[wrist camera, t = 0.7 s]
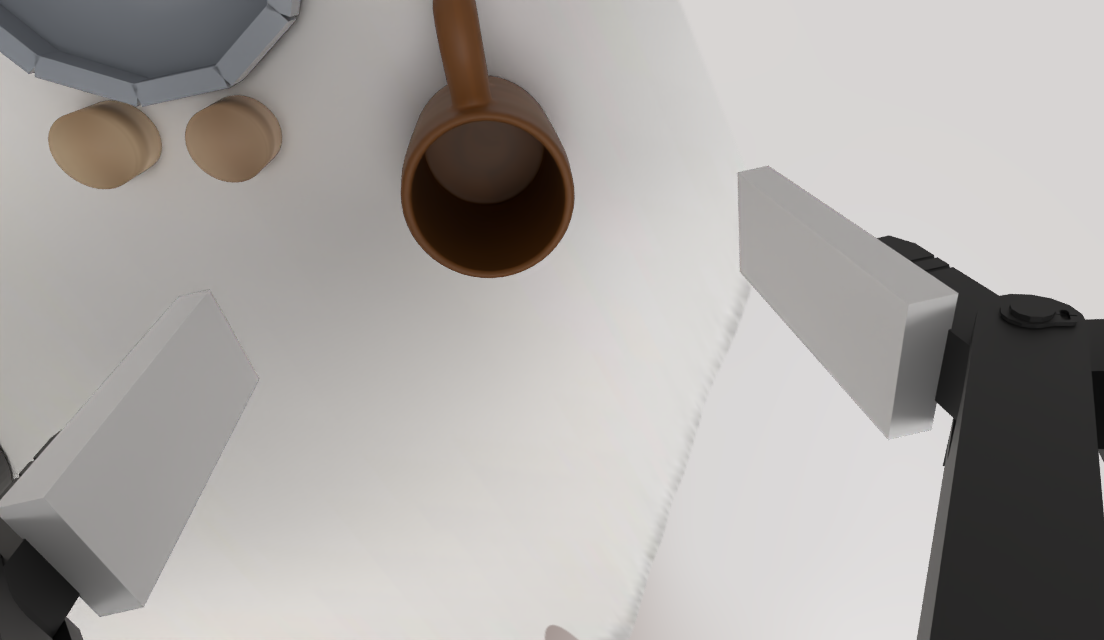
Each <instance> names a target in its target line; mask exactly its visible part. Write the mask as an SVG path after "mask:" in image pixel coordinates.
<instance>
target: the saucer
mask: <svg viewBox="0 0 1104 640" xmlns="http://www.w3.org/2000/svg"><path fill="white" fill-rule="evenodd" d="M300 1H301V0H0V52H1V53H2V54H4V55H5V56H6V57H8V58H9V59H10V60H11V61H13V62H14V63H15V64H17V65H18V66H19V67H21V68H22V69H23V70H25V71H26V72H27V73H28V74H31V73H35V77H37V78H40V79H43V80H47V81H50V82H54V83H57V84H61V85H64V86H68V87H71V88H75V89H78V90H82V91H85V92H89V93H92V94H95V95H99V96H102V97H106V98H109V99H113V100H116V101H120V102H123V103H127V104H130V105H134V106H139V105H142V107H144V106H148V105H153V104H157V103H162V102H166V101H171V100H175V99H180V98H185V97H189V96H194V95H198V94H203V93H207V92H212V91H216V90H221V89H226V88H229V87H231V86H233V85H235V84H237V83H239V82H240V81H242V80H243V79H244V78H245V77H246V76H247V75H248V74H249V73H250V71H251V70H252V69H253V68H254V67H255V66H256V65H257V64H258V62H259V61H260V60H261V59H262V58H263V57H264V56H265V54H266V53H267V52H268V51H269V50H270V49H271V48H272V47H273V45H274V44H275V43H276V42H277V41H278V40H279V39H280V37H281V36H282V35H283V34H284V33H285V32H286V31H287V29H288V28H289V27H290V26H291V25H292V24H293V23H294V22H295V20H296V18H295V17H294V16H295V15H299V9H300Z"/></svg>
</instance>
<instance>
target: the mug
mask: <svg viewBox="0 0 1104 640" xmlns="http://www.w3.org/2000/svg"><path fill="white" fill-rule="evenodd" d="M433 14H434V21H435V27H436V33H437V38H438V43H439V48H440V53H441V58H442V62H443V67H444V71H445V75H446V80H447V84H448V85H446V86H445V87H443V88H442V89H441V90H439V91H438V92H437V93H436V94H435V95H434V96H433V97H432V98H431V99H430V100H429V102H428V103H427V104H426V106H425V107H424V109H423V111H422V113H421V114H420V116H419V119H418V121H417V124H416V127H415V129H414V132H413V135H412V137H411V140H410V143H409V146H408V149H407V152H406V155H405V159H404V164H403V168H402V179H401V204H402V209H403V214H404V217H405V220H406V223H407V225H408V227H409V229H410V231H411V233H412V235H413V237H414V238H415V240H416V241H417V243H418V244H419V245H420V246H421V247H422V249H423V250H424V251H425V252H426V253H427V254H428V255H430V256H431V257H432V258H433V259H434V260H436V261H437V262H439V263H440V264H441V265H443V266H445V267H447V268H449V269H451V270H453V271H456V272H458V273H461V274H464V275H468V276H473V277H480V278H497V277H505V276H509V275H514V274H516V273H519V272H522V271H524V270H526V269H528V268H530V267H532V266H534V265H536V264H537V263H539V262H540V261H542V260H543V259H544V258H545V257H546V256H547V255H549V254H550V253H551V252H552V251H553V249H554V248H555V247H556V246H557V245H558V243H559V242H560V241H561V239H562V238H563V236H564V234H565V232H566V230H567V228H568V226H569V223H570V220H571V217H572V213H573V208H574V184H573V178H572V173H571V169H570V164H569V161H568V158H567V155H566V152H565V150H564V148H563V146H562V144H561V142H560V140H559V138H558V136H557V134H556V132H555V130H554V128H553V126H552V125H551V123H550V121H549V120H548V118H547V116H546V114H545V113H544V111H543V109H542V108H541V106H540V105H539V104H538V103H537V101H536V100H535V99H534V98H533V97H532V96H531V95H530V94H529V93H527V92H526V91H525V90H524V89H522V88H521V87H519V86H518V85H516V84H514V83H512V82H510V81H508V80H505V79H502V78H498V77H493V76H488V71H487V66H486V60H485V54H484V48H483V42H482V37H481V31H480V25H479V19H478V13H477V8H476V2H475V0H433Z"/></svg>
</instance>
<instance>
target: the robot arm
mask: <svg viewBox="0 0 1104 640" xmlns="http://www.w3.org/2000/svg"><path fill="white" fill-rule="evenodd" d="M738 211H739V256H740V272H741V274H742V275H743V276H744V277H745V278H746V279H747V280H748V281H749V283H750V284H751V285H752V286H753V287H754V288H755V289H756V290H757V292H758V293H759V294H760V295H761V296H762V297H763V298H764V299H765V301H766V302H767V303H768V304H769V305H770V306H771V308H772V309H773V310H774V311H775V312H776V313H777V314H778V315H779V316H780V318H781V319H782V320H783V321H784V322H785V323H786V325H787V326H788V327H789V328H790V329H791V330H792V331H793V332H794V333H795V335H796V336H797V337H798V338H799V339H800V340H801V341H802V343H803V344H804V345H805V346H806V347H807V348H808V349H809V351H810V352H811V353H812V354H813V355H814V356H815V357H816V359H817V360H818V361H819V362H820V363H821V364H822V365H823V366H824V368H825V369H826V370H827V371H828V372H829V373H830V374H831V375H832V377H833V378H834V379H835V380H836V381H837V382H838V383H839V385H840V386H841V387H842V388H843V389H844V390H845V391H846V392H847V394H849V396H850V397H851V398H852V399H853V400H854V401H855V403H856V404H857V405H858V406H859V407H860V408H861V409H862V411H863V412H864V413H865V414H866V415H867V416H868V417H869V418H870V420H871V421H872V422H873V423H874V424H875V425H876V426H877V428H878V429H879V430H880V431H881V432H882V433H883V434H884V435H885V437H886V438H887V439H893V438H898V437H902V436H907V435H911V434H916V433H920V432H925V431H929V430H931V428H932V423H933V418H934V414H935V408H936V404H937V403H938V404H939V405H940V406H942V408H943V409H945V410H946V411H947V412H948V413H949V414H950V415H951V416H952V417H953V422H952V427H951V431H950V436H949V440H948V445H947V449H946V454H945V458H944V463H943V466H945V468H944V474H943V480H942V487H941V493H940V499H939V505H938V512H937V518H936V524H935V530H934V536H933V542H932V548H931V555H930V561H929V567H928V573H927V580H926V586H925V592H924V599H923V604H922V611H921V617H920V623H919V630H918V635H917V640H1104V512H1103V500H1102V490H1101V477H1100V466H1099V454H1098V452H1099V453H1100V455H1101V457H1102V459H1103V461H1104V319H1094V320H1085V319H1084V317H1083V315H1082V314H1081V313H1080V312H1078V311H1077V310H1075V309H1074V308H1073V307H1071V306H1070V305H1067V304H1065V303H1062V302H1059V301H1056V300H1054V299H1051V298H1045V297H1040V296H1035V295H1025V294H1024V295H1023V294H1008V295H1002V296H999V295H997V294H995V293H994V292H992V291H991V290H989V289H987V288H986V287H984V286H983V285H981V284H979V283H978V282H976V281H975V280H973V279H971V278H970V277H968V276H967V275H965V274H963V273H962V272H960V271H958V270H957V269H955V268H954V267H952V268H950V267H949V264H947V263H946V262H944V261H942V260H941V259H939V258H938V257H937V258H934V255H933V254H931V253H930V252H928V251H926V250H925V249H923V248H922V247H920V246H918V245H917V244H915V243H912V242H909V241H905V240H902V239H899V238H896V237H892V236H885V237H881V238H875V237H874V236H872V235H871V234H869V233H868V232H866V231H865V230H863V229H862V228H860V227H859V226H857V225H856V224H854V223H853V222H851V221H850V220H848V219H847V218H845V217H844V216H843V215H841V214H839V213H838V212H836V211H835V210H834V209H832V208H831V207H829V206H828V205H826V204H825V203H823V202H822V201H820V200H819V199H817V198H816V197H814V196H813V195H811V194H810V193H808V192H807V191H805V190H804V189H802V188H801V187H799V186H798V185H796V184H795V183H793V182H792V181H790V180H789V179H787V178H786V177H784V176H783V175H781V174H780V173H778V172H777V171H775V170H774V169H772V168H771V167H769V166H765V167H761V168H756V169H751V170H747V171H742V172H738ZM258 381H259V377H258V375H257V373H256V372H255V370H254V368H253V366H252V364H251V363H250V361H249V359H248V357H247V355H246V354H245V352H244V350H243V348H242V346H241V345H240V343H239V341H238V339H237V337H236V336H235V334H234V332H233V330H232V328H231V327H230V325H229V323H228V321H227V319H226V318H225V316H224V314H223V312H222V311H221V309H220V307H219V305H218V303H217V302H216V300H215V298H214V296H213V294H212V293H211V291H210V290H205V291H201V292H196V293H192V294H187V295H182V296H179V297H178V298H177V299H176V300H175V301H174V302H173V303H172V305H171V306H170V307H169V308H168V309H167V310H166V311H165V313H164V314H163V315H162V316H161V317H160V318H159V319H158V321H157V322H156V323H155V324H154V325H153V326H152V327H151V329H150V330H149V331H148V332H147V333H146V334H145V335H144V337H143V338H142V339H141V340H140V341H139V342H138V343H137V345H136V346H135V347H134V348H133V349H132V350H131V351H130V353H129V354H128V355H127V356H126V357H125V358H124V359H123V361H122V362H121V363H120V364H119V365H118V366H117V367H116V369H115V370H114V371H113V372H112V373H111V374H110V375H109V377H108V378H107V379H106V380H105V381H104V382H103V383H102V385H101V386H100V387H99V388H98V389H97V390H96V391H95V393H94V394H93V395H92V396H91V397H90V398H89V399H88V401H87V402H86V403H85V404H84V405H83V406H82V407H81V409H80V410H79V411H78V412H77V413H76V414H75V415H74V417H73V418H72V419H71V420H70V421H69V422H68V423H67V425H66V426H65V427H64V428H63V429H62V430H61V431H59V432H58V433H57V434H55V435H54V436H53V437H51V438H50V439H49V441H48V442H47V443H46V444H45V445H44V446H43V447H42V449H41V450H40V451H39V452H38V453H37V454H36V455H35V456H34V461H31V462H29V463H28V464H27V466H26V467H25V468H24V469H23V470H22V471H21V472H20V473H19V478H15V479H14V480H13V481H12V478H11V472H10V469H9V466H8V463H7V461H6V459H5V457H4V455H3V453H2V451H1V450H0V640H83V638H82V635H81V632H80V629H79V628H78V627H76V626H75V625H74V624H73V623H72V622H71V621H70V620H69V619H68V618H67V617H66V616H67V615H68V613H69V611H70V610H71V608H72V606H73V605H74V603H75V602H76V600H77V598H78V597H79V596H80V597H81V598H82V599H83V600H84V601H85V602H86V603H87V604H88V605H89V606H90V607H91V608H92V609H93V610H94V611H95V612H96V613H97V614H98V615H99V616H100V617H102V616H106V615H111V614H115V613H120V612H124V611H128V610H133V609H137V608H142V607H144V606H145V604H146V602H147V600H148V598H149V596H150V594H151V592H152V590H153V588H154V586H155V584H156V582H157V580H158V578H159V576H160V574H161V572H162V570H163V568H164V566H165V564H166V562H167V560H168V558H169V556H170V554H171V552H172V550H173V548H174V546H175V544H176V542H177V540H178V538H179V536H180V535H181V533H182V531H183V529H184V527H185V525H186V523H187V521H188V519H189V517H190V515H191V513H192V511H193V509H194V507H195V505H196V503H197V501H198V499H199V497H200V495H201V493H202V491H203V489H204V487H205V485H206V483H207V481H208V479H209V477H210V475H211V473H212V471H213V469H214V467H215V465H216V463H217V461H218V460H219V458H220V456H221V454H222V452H223V450H224V448H225V446H226V444H227V442H228V440H229V438H230V436H231V434H232V432H233V430H234V428H235V426H236V424H237V422H238V420H239V418H240V416H241V414H242V412H243V410H244V408H245V406H246V404H247V402H248V400H249V398H250V396H251V394H252V392H253V390H254V388H255V386H256V384H257V383H258Z"/></svg>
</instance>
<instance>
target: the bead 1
mask: <svg viewBox="0 0 1104 640" xmlns="http://www.w3.org/2000/svg"><path fill="white" fill-rule="evenodd" d="M48 142H49V148H50V151H51V154H52V156H53V158H54V159H55V161H56V163H57V164H58V165H59V166H60V168H61V169H62V170H63V171H64V172H65V173H66V174H68V175H69V176H70V177H71V178H73V179H74V180H76V181H78V182H80V183H82V184H84V185H86V186H89V187H93V188H97V189H112V188H116V187H119V186H121V185H123V184H125V183H126V182H128V181H129V180H131V179H133V178H134V177H136V176H137V175H139V174H141V173H142V172H144V171H145V170H147V169H148V168H150V167H151V166H153V165H154V164H155V163H156V162H157V160H158V159H159V157H160V154H161V149H162V144H161V138H160V135H159V133H158V130H157V129H156V127H155V125H154V124H153V123H152V121H151V120H150V119H149V118H148V117H147V116H146V115H145V114H144V113H143V112H141V111H140V110H138V109H137V108H135V107H133V106H131V105H129V104H126V103H123V102H119V101H103V102H99V103H96V104H94V105H91V106H88V107H86V108H83V109H80V110H77V111H75V112H72V113H69V114H67V115H64V116H62V117H60V118H59V119H57V120H56V121H55V122H54V123H53V125H52V126H51V128H50V131H49V136H48Z"/></svg>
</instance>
